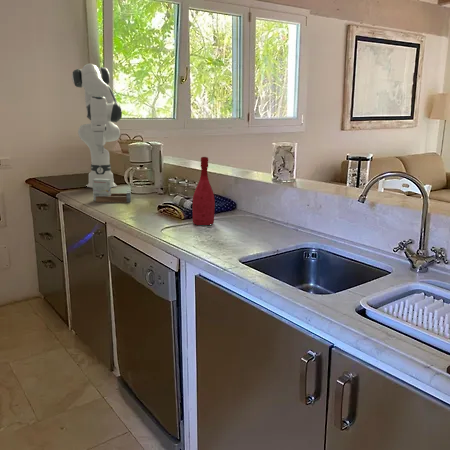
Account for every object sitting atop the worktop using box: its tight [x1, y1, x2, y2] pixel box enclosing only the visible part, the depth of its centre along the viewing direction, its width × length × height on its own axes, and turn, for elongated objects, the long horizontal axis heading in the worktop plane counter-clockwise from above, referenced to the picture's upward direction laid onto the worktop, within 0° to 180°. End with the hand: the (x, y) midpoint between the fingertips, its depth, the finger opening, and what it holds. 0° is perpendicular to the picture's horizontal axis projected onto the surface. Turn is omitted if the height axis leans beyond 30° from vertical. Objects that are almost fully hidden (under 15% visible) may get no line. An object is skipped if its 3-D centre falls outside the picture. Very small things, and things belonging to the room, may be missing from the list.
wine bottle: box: [192, 156, 216, 226], centre depth 203 cm, size 10×10×30 cm
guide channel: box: [95, 189, 132, 203], centre depth 252 cm, size 10×18×5 cm, turn 100°
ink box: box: [92, 179, 112, 202], centre depth 250 cm, size 9×5×12 cm, turn 84°
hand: (101, 154), depth 247 cm, fingers open, 8 cm apart
